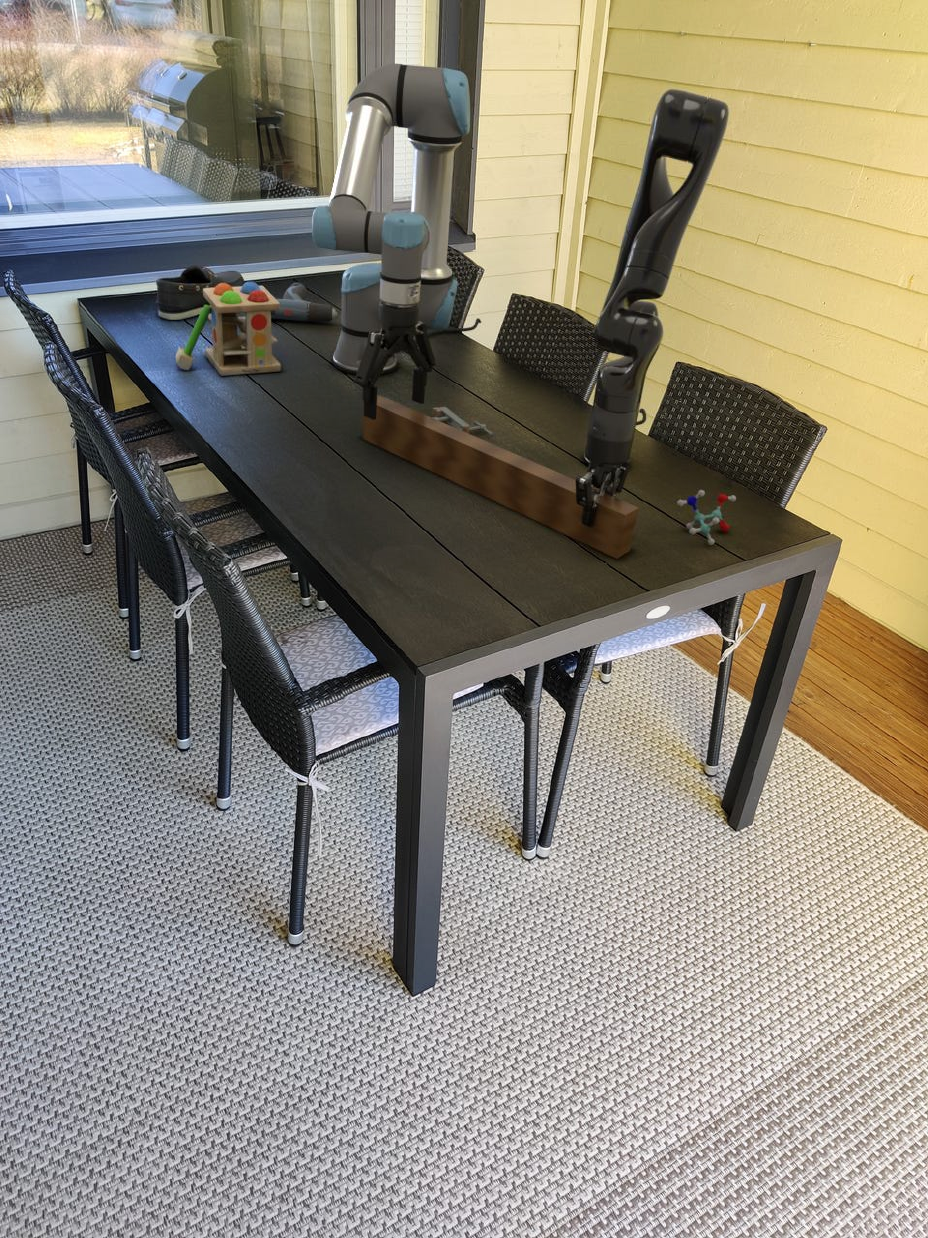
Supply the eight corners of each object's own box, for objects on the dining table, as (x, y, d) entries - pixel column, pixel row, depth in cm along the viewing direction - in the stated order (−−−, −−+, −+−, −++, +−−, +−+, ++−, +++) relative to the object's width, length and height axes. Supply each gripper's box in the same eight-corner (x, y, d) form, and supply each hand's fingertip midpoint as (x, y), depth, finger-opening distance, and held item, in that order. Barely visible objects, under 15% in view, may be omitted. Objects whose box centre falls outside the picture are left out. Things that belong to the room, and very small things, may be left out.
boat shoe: (264, 299, 275) (261, 260, 270) (175, 322, 251) (171, 280, 246) (230, 290, 281) (227, 253, 275) (140, 312, 257) (136, 271, 251)
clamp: (420, 409, 212) (460, 403, 217) (420, 418, 213) (460, 412, 218) (454, 436, 202) (496, 430, 206) (454, 446, 203) (495, 439, 208)
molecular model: (741, 539, 172) (725, 484, 171) (688, 553, 176) (672, 500, 174) (745, 528, 183) (730, 477, 181) (695, 542, 186) (680, 492, 185)
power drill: (344, 304, 276) (335, 327, 259) (277, 298, 275) (264, 321, 258) (344, 285, 273) (335, 306, 256) (277, 279, 272) (264, 300, 255)
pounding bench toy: (183, 379, 220) (176, 299, 210) (169, 357, 231) (162, 280, 221) (282, 371, 230) (280, 294, 220) (264, 350, 240) (262, 276, 230)
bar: (362, 438, 203) (363, 399, 198) (376, 433, 205) (378, 394, 201) (616, 558, 170) (625, 515, 165) (630, 550, 173) (638, 507, 168)
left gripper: (365, 318, 174) (362, 430, 186) (458, 296, 190) (450, 401, 202) (336, 307, 178) (335, 417, 189) (430, 287, 194) (423, 390, 206)
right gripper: (605, 449, 157) (589, 542, 166) (653, 427, 166) (634, 516, 176) (568, 434, 161) (554, 525, 170) (616, 413, 170) (600, 501, 180)
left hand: (394, 409), depth 196 cm, fingers open, 13 cm apart
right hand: (595, 520), depth 173 cm, fingers closed on bar, 4 cm apart
